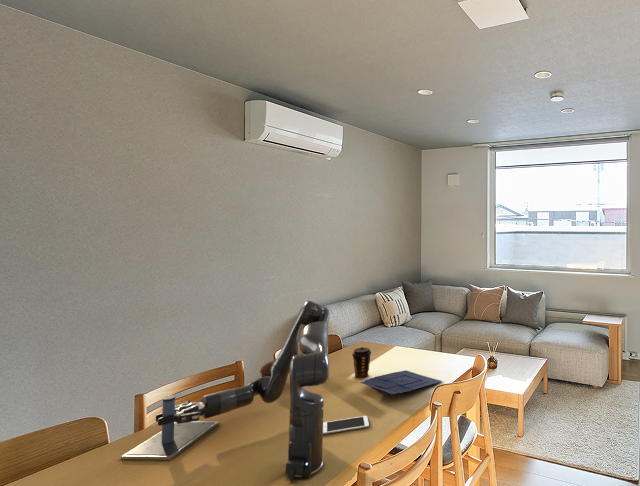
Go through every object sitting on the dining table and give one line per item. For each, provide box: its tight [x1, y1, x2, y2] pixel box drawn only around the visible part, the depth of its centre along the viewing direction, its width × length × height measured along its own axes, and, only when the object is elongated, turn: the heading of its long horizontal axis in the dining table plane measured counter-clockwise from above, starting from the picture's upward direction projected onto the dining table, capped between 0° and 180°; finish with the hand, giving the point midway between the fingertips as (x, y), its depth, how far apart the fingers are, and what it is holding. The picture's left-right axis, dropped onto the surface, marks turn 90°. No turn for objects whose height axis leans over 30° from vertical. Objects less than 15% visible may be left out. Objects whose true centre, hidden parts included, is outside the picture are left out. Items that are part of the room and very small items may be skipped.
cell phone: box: [323, 415, 370, 435], centre depth 140 cm, size 8×16×1 cm, turn 111°
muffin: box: [259, 360, 275, 378], centre depth 177 cm, size 12×11×10 cm
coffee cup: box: [351, 346, 372, 380], centre depth 187 cm, size 9×8×13 cm
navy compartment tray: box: [359, 370, 443, 395], centre depth 176 cm, size 24×30×4 cm
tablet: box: [121, 420, 220, 461], centre depth 129 cm, size 22×15×1 cm
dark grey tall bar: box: [161, 395, 176, 444], centre depth 127 cm, size 3×3×14 cm
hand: (157, 420), depth 125 cm, fingers closed on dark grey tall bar, 3 cm apart
